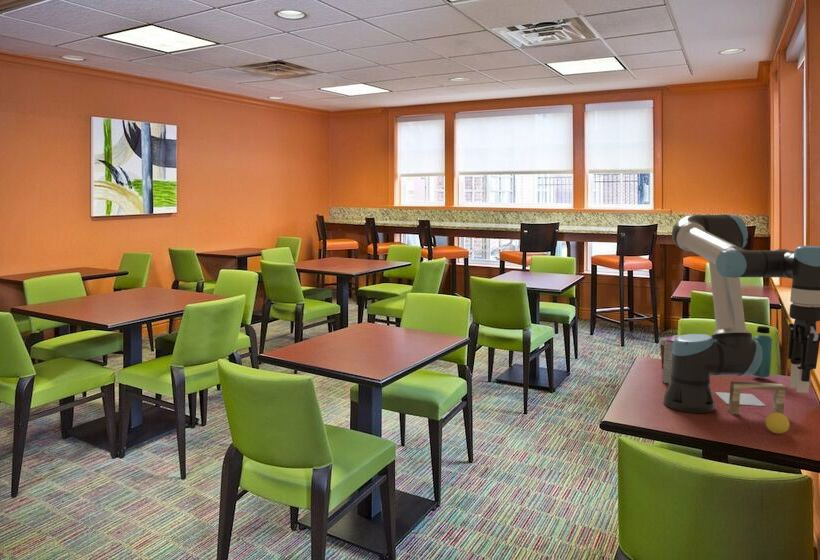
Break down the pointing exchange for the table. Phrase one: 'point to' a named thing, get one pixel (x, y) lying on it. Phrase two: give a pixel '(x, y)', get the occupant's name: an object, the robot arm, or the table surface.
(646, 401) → the table surface
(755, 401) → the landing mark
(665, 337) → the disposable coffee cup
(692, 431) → the table surface
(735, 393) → the bridge
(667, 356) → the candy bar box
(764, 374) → the beverage bottle
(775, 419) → the ball
